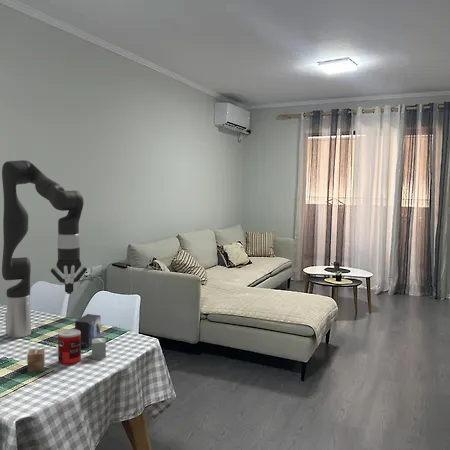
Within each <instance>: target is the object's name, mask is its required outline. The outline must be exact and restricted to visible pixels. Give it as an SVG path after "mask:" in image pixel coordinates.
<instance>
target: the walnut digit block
mask: <svg viewBox="0 0 450 450" xmlns="http://www.w3.org/2000/svg"><path fill="white" fill-rule="evenodd" d="M26 357H27V358H26V359H27V372H29V373H30V372H31V371H32V372H40V371H41V372H42V370H43V371H44V369H45V367H46V366H45V365H46V364H45V348H39V349H38V348H37V349H36V348H35V349H29V350H28V352H27V356H26Z"/></svg>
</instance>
